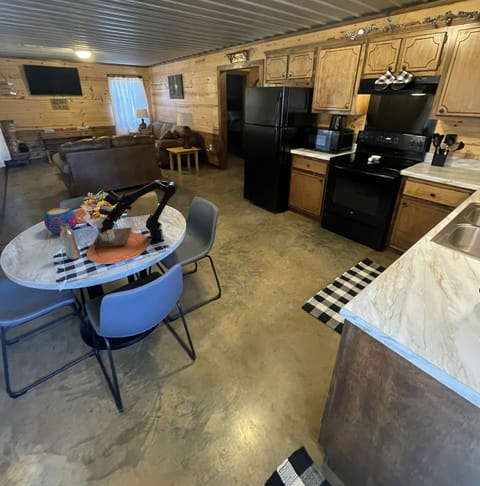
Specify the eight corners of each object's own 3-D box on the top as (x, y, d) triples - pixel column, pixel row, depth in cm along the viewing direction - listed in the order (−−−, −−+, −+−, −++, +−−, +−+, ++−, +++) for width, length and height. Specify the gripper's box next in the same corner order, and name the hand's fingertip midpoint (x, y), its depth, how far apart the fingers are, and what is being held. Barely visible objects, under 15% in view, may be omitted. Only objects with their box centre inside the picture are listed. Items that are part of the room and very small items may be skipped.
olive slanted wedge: (131, 229, 174) (130, 223, 173) (124, 246, 154) (122, 239, 153) (105, 231, 172) (104, 225, 170) (95, 249, 152) (93, 242, 150)
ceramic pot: (82, 223, 182) (76, 203, 176) (76, 235, 167) (70, 214, 161) (53, 227, 177) (46, 207, 171) (44, 240, 161) (36, 218, 156)
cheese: (128, 219, 189) (125, 199, 183) (126, 214, 197) (123, 195, 191) (159, 213, 199) (157, 194, 193) (156, 208, 207) (154, 190, 201)
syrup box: (115, 237, 161) (109, 215, 155) (109, 242, 155) (103, 220, 150) (106, 237, 161) (100, 215, 156) (100, 242, 156) (94, 220, 150)
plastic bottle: (75, 261, 140) (65, 228, 132) (64, 260, 141) (53, 227, 133) (83, 255, 146) (75, 223, 138) (73, 254, 147) (64, 222, 139)
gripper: (110, 196, 158) (95, 214, 160) (101, 208, 141) (84, 228, 143) (126, 207, 162) (111, 224, 165) (120, 220, 145) (102, 239, 148)
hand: (102, 228), depth 155 cm, fingers open, 9 cm apart
